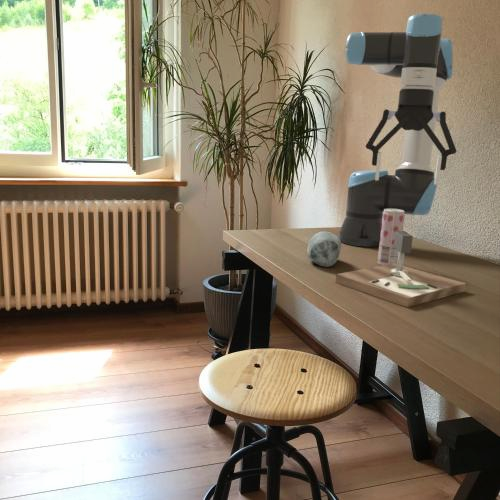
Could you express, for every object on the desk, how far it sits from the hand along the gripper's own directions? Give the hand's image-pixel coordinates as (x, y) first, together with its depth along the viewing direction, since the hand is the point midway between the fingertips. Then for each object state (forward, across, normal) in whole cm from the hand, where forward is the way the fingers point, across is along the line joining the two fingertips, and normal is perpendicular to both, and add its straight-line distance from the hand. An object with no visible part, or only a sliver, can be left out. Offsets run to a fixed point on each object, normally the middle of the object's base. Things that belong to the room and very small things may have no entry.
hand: (406, 182), depth 124 cm
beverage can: (+24, -2, +12) cm, 27 cm away
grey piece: (+21, +1, -8) cm, 23 cm away
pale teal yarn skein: (+24, -19, +6) cm, 31 cm away
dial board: (+23, +1, -9) cm, 25 cm away
